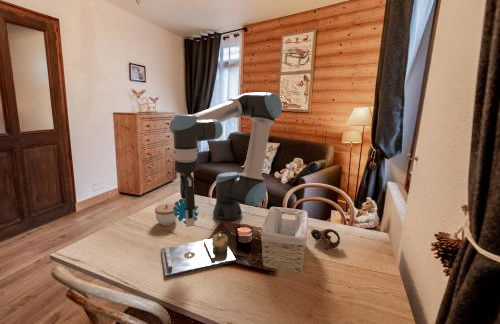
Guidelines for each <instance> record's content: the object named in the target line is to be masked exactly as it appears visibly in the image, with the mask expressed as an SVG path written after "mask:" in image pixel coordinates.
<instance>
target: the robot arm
mask: <svg viewBox="0 0 500 324" xmlns="http://www.w3.org/2000/svg"><path fill="white" fill-rule="evenodd" d="M282 105H283V104H282V101H281V98H280V96H279V95H278V94H277V93H275V92H269V91H268V92H267V91H266V92H248V93H247V92H246V93H242V94H240V95H238V96H234V97H231V98H229V99H228V100H227V102H225V103H220V104H218V105H216V106H213V107H211V108H208V109H207V108H206V109H204V110H201V111H199V112H196V113H193V114H175V115H174V116H173V119H171V120H170V123H169V130H170V132H171V134H173V145H174V146H173V147H174V150H173V151H172V154H174V159H175V161H174V171H175V173H179V174H180V175H179V178H180V182H179V184H180V185H179V187H180V188H179V191H180V192H179V195H180V199H182V200H183V202H182V203H183V204H184V200H186V208H184V210H186V219H185V220H186V224H185V227H186V228H188V227H189V228H190V227H195V221H194V216H195V215H194V209H195V207H196V202H195V200H196V198H195V184H194V183H195V180H194V176H193V175H192V173H195V172H197V171H198V160H197V159H198V143H199V142H204V141H214V140H217V139H220V138H221V136H223V132H224V130H223V125H222V123H223V122H225V121H228V120H230V119H232V118H234V119H238V118H240V117H250V120H251V122H252V126H251V131H250V138H249V142H248V148H247V153H246V158H245V160H246V161H245V163H244V164H245V165H244V169H243V172H241V173H239V172H237V171H234V172H233V171H228V172H222V173H219V174H217V176H216V178H215V179H216V180H215V193H216V194H215V195H216V196H215V197H216V199H215V200H216V202H215V205H214V208H213V211H212V217H213V219H214V220H216V221H219V222H223V223H232V222H236V221H238V220H240V219H241V218H242V217H243V211H242V208H241V205H240V203H242V204H245V205H246V206H252V207H257V206H259V205H261V203H262V202H264V199H265V198H266V195H267V192H268V191H267V190H268V188H267V184H266V183H264V181H265V178H264V177H263V176H262V173H263V168H264V163H265V159H266V158H265V157H266V152H267V147H268V146H267V145H268V142H269V141H268V140H269V136H270V130H271V126H272V125H274V124H275V120H277V119H278V118H280V117H281V114H282V110H283V108H282V107H283V106H282Z"/></svg>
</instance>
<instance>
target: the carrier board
mask: <svg viewBox="0 0 500 324" xmlns="http://www.w3.org/2000/svg"><path fill="white" fill-rule="evenodd" d="M211 237H212V238H209V239H208V238H205V239H203V240H198V241H194V242H188V243H183V244H178V245H172V246H165V247H161V249H160V251H161V255H162V256H161V257H162V258H161V259H162V264H163V271H164V279H168V278H169V279H170V278H172V277H177V276H183V275H186V274H190V273H194V272H198V271H202V270H206V269H211V268H215V267H219V266H220V267H221V266H224V265H227V264H232V263H231V262H232V261H236V258H235V256H234V254H233V252H232V251H231V249H230V247H229V246H228V245H229V244H228V238H229V237H228V235H227V234H225V233H222V232H218V233H216V234H214V235H212V236H211Z"/></svg>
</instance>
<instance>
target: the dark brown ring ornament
mask: <svg viewBox="0 0 500 324" xmlns="http://www.w3.org/2000/svg"><path fill="white" fill-rule="evenodd" d="M330 233H332V234H334V235H335V236H336V238H337V240H336V241H334V242H331V238H332V236H330V235H329V234H330ZM310 234H311V236H312V238H313V239H314V240H315V242H318V241H320V240H321V242H322V243H323V244H324V247H323V250H324V251H327V252H328V251H329V250H334V249H336V248H338V246H339V245H340V244H341V236H340V235H339V232H337V231H336V230H334V229H331V228H325V229H322V230H318V229H312V230H311V231H310ZM328 241H330V242H328Z"/></svg>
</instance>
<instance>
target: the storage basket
mask: <svg viewBox="0 0 500 324" xmlns="http://www.w3.org/2000/svg"><path fill="white" fill-rule="evenodd" d="M283 215H289V216H295V219H286V218H283ZM308 215H309V214H308V211H307V210H305V209H296V208H288V207H279V206H278V207H277V206H271V207H270V208H269V210H268V212H267V214H266V217H265V220H264V222H263V225H262V228H261V232H260V233H261V234H260V235H261V236H260V241H261V248H262V249H261V251H262V253H261V256H262V265H263V266H264V267H266V266H267V267H266V268H272V267H273V268H272V269H278V270H283V271H286V272H287V271H289V272H290V271H291V272H294V273H302V271H303V266H304V259H305V248H306V247H305V246H306V245H307V242H308V241H307V236H308V227H309V226H308V224H309V222H308V221H309V216H308Z"/></svg>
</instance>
